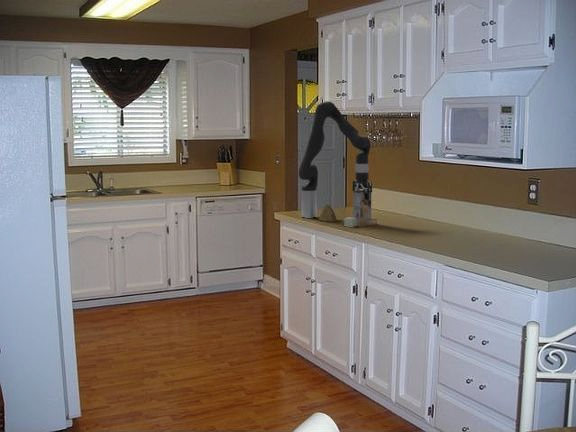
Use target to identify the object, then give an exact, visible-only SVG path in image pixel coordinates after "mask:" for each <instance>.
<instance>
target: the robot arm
mask: <svg viewBox="0 0 576 432" xmlns="http://www.w3.org/2000/svg"><path fill="white" fill-rule="evenodd" d="M313 117H314V118H313V123H312V127H311V131H310V134H309V138H308V141H307V145H306V149H305V152H304V155H303V158H302V160H301V163H300V165H299V169H298V177H299V178H300V179H301V180H303V181H304V180H305V181H306V180H307V181H306V183H305V184H303V185H302V186H301V203H300V210H301V211H300V214H301V215H300V216H302V217H305V218H304V219H314V218H313V217H316V218H317V217H318V215H317V214H318V206H317V203H318V201H317V196H318V195H317V194H318V193H317V188H318V178H319V176H318V175H319V174H318V173H319V171H318V168H317V166H316V165H315V164H312V163H313V160H314V159H315V158H316V157H317V155H319V154H320V152H321V150H323V146H324V143H325V140H326V139H325V133H324V125H325V123H326V122H325V120H326V119H327V118H330V119H332V120H333V121H335V122H336V125H337V126H338V129H339V130H340V132H341V133H342V134H343V136H344V137H346V139H348V140H349V142H350V144H351V145H352V146H353V147H354V148H355V149H357V150H359V152H358V153H357V154H356V156H355V180H352V188H351V189H352V192H353V191H359V190H364V191H365V193H366V194H365V200H369V193H371V194H372V192H373V183H372V181H369V182H368V180H369V177H370V176H369V175H370V174H369V171H370V170H369V154H370V150H371V140H370V138H369V137H367V136H360V135H359V131H358V129H357V128H355V126H354V125H352V124H351V123H350V121H348V120H347V119H346V117H345V116H344V115H343V114H342V113H341V111H340V110H339V108H338V107H337V106H336V105H335V104H334V103H333V102H331V101H325V102H319V103H318V104H317V105H316V107H315V111H314V116H313ZM302 217H301V218H302Z"/></svg>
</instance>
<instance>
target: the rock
mask: <svg viewBox="0 0 576 432" xmlns="http://www.w3.org/2000/svg"><path fill="white" fill-rule="evenodd" d="M319 220H324V221H323V222H337V217H336V213H335V211H334V210H333V208H332V207H331V205H329V204H325V206H324V207H323V209H322V211H321V213H320V215H319V219H318V221H319Z"/></svg>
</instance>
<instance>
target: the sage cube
mask: <svg viewBox="0 0 576 432" xmlns="http://www.w3.org/2000/svg"><path fill="white" fill-rule="evenodd" d="M343 220H344V221H343V222H344V225H343V226H346V227H345V228H351V227H352V228H355V227H354V226H356V227H358V226H357V218H353V216H352V217H350V216H349V217H345V218H344V219H343Z"/></svg>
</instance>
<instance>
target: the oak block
mask: <svg viewBox="0 0 576 432" xmlns="http://www.w3.org/2000/svg"><path fill="white" fill-rule="evenodd" d="M377 224H378V218H376V217H371V218H366V219H361V220H360V219H357V225H358V226H357V227H367V225H368V226H374V225H377Z"/></svg>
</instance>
